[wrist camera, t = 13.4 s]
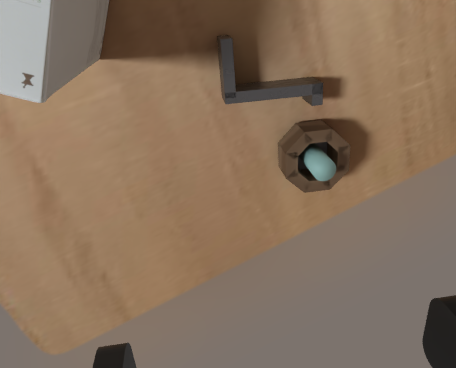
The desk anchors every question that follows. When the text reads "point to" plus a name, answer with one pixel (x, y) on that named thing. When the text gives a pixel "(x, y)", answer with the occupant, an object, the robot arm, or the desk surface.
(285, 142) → the walnut ring
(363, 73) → the desk surface
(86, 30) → the skincare box
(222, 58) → the bent rail
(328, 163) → the teal flanged peg
